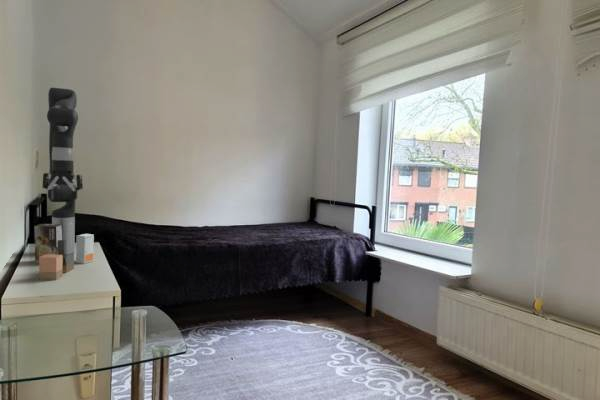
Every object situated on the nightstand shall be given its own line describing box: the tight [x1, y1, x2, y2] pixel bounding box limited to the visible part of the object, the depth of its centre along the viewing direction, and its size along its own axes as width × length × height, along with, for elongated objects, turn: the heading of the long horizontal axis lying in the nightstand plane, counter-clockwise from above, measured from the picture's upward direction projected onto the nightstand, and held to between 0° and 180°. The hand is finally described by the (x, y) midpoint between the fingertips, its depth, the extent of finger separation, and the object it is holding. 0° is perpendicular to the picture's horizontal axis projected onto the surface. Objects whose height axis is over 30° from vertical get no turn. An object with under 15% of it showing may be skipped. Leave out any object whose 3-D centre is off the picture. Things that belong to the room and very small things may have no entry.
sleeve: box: [62, 253, 75, 274], centre depth 173 cm, size 7×5×7 cm, turn 5°
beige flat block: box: [57, 240, 68, 263], centre depth 167 cm, size 12×3×9 cm, turn 5°
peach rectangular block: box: [38, 254, 63, 281], centre depth 162 cm, size 5×6×8 cm
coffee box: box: [33, 223, 63, 264], centre depth 185 cm, size 9×6×16 cm
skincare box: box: [75, 233, 95, 265], centre depth 188 cm, size 6×4×12 cm
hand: (62, 199), depth 173 cm, fingers open, 8 cm apart
